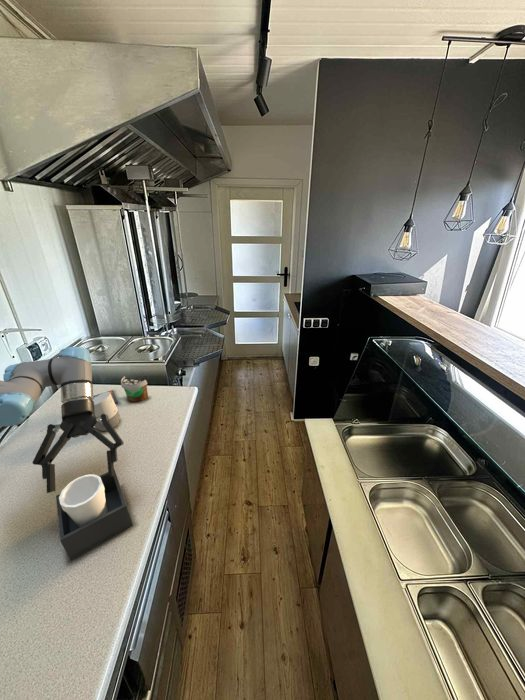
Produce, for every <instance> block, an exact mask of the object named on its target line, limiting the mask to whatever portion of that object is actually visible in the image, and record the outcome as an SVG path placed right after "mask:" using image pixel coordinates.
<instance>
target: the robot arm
mask: <svg viewBox="0 0 525 700" xmlns="http://www.w3.org/2000/svg"><path fill="white" fill-rule="evenodd" d="M92 365H93V363H92V359H91V352H90V350H89V349H87V348H85V347H83V346H66V347H65V348H62V349H60V350H59V354H58V357H54V358H49V359H48V358H47V359H41V360H32V361H22V362H19V363H14V364H9V365H8V366H7V367H6V368H5V369H4V373H3V375H2V376H3V377H2V378H3V380H0V427H14V426H17V425H19V424H20V423H22V422H24V421H25V420H26V418H28V416H29V414H30V413H31V412H32V411H33V410H34V409H35V406H36V404H37V402H38V400H39V399H40V397H41V396H42V394H43V393H44V391H45V389H46V388H49V387H54V386H60V402H61V403H62V404H61V405H60V410H61V411H60V412H61V422H60V423H58V424H53V423H49V424H48V425H47V427H46V428H47V429H46V434H45V436H44V438H43V440H42V442H41V443H40V446H39V448H38V450H37V451H36V454H35V456H34V459H33V460H32V465H36V466H41V471H42V472H41V479H42V480H46V494H49V493H54V492H56V467H55V466H56V465H55V463H53V461H54V460H55V458H56V457H57V456H58V455H59V454H60V452H61V451H62V449H63V448H64V447H65V445H66V444H67V442H69V441H70V440H71V438H72V439H73V438H74V439H76V438H79V437H81V436H82V437H85V436H88V435H89V434H90V435H92V436H93V437H94V438H96V439H97V440H98V441H100V442H101V443H102V444H103V445H104V446H106V447H107V448H108V449H109V450H106V460H107V472H108V475H109V477H112V476H115V474H114V469H115V464H114V463H117V462H118V448H120V447H122V446H123V445H125V443H124V442H125V441H123V439H122V438H121V436H120V435H119V433H118V432H117V431H116V429H115V427H114V428H113V427H112V425H111V424H110V422H109V418H108V415H106V414H101V416H97V417H96V416H95V411H94V401H93V400H92V399H93V396H94V385H93V371H92ZM97 421H99V422H100V423H103V425H104V427H105V428H106V429H107V430H106V431H107V432H108V434H109V435H110V437H111V438H112V440H113V441H114V443H113V442H112V441H111V440H110V439H109V438H108V437H106V436H105V435H104V434H103V433H101V432H100V430H98V429H97V428H96V427H95V424H96V422H97ZM60 430H61V431H63V432H62V433H61V435H60V436H59V437H58V438H59V439H58V440H57V441H56V443H54V445H52V444H53V442H54V440H55V438H56V435H57V433H58V432H59V431H60ZM51 446H52V447H51Z"/></svg>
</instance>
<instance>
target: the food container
mask: <svg viewBox="0 0 525 700" xmlns="http://www.w3.org/2000/svg"><path fill="white" fill-rule="evenodd" d="M147 385H148V381H147V380H146V379H144V380H140V379H137V378H127V377H126V376H125V375H124V376H123V377H122V378H121V380H120V386H121V388H122V389H124V392H125V395H126V397H127V400H128V402H130V403H133V404H137V403H142V402H144V401H146V400H148V399H149V393H148V386H147Z"/></svg>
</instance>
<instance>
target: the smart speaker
mask: <svg viewBox="0 0 525 700" xmlns="http://www.w3.org/2000/svg"><path fill="white" fill-rule="evenodd" d="M101 393H102V394H101ZM101 393H99V394H100V395H98V394H97V395H98V396H97V397H95V398H94V399H93V401H94V411H95V416H96V417H97V416H101V414H106V415H108V418H109V422H110V424H111V425H112V427H113V428H114V429H115V428H116V427H117V426H118V425H119V422H120V419H121V417H120V416H121V415H120V412H119V410H118V407H117V404H115V402H114V400H113V398H112V396H111V393H110V392H108V391H105V392H101ZM94 428H95V429H96V430H98V431H103V432H104V431H107V429H106V428H105V427H104V425H103V423H100V422H99V421H97V422H96V424H95V426H94Z"/></svg>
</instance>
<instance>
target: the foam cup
mask: <svg viewBox="0 0 525 700" xmlns="http://www.w3.org/2000/svg"><path fill="white" fill-rule="evenodd" d="M99 476H100V475H97V474H94V473H93V474H91V473H90V474H85V475H82V476H79V477H78V476H77V478H75V479H73V480H71V481H70V482H69V483H67V485H66V486H64V488H63V489H62V490H61V492H60V493H59V494H60V496H59V501H60V505H61V507H62V509H63V510H64V511H65V512H67V514H68V515H69V516H70V517H71V518H72V520H73V521H74V522H75V523H76V524H77V526H78V527H79V528H80V527H82V526H84V525H86V524H87V523H89V522H91V521H93V520H95V519H97V518H99V517H101V516H103V515H105V514H106V513H108V511H107V505H106V499H105V493H104V490H105V488H104V485H103V483H102V480H101V477H99Z"/></svg>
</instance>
